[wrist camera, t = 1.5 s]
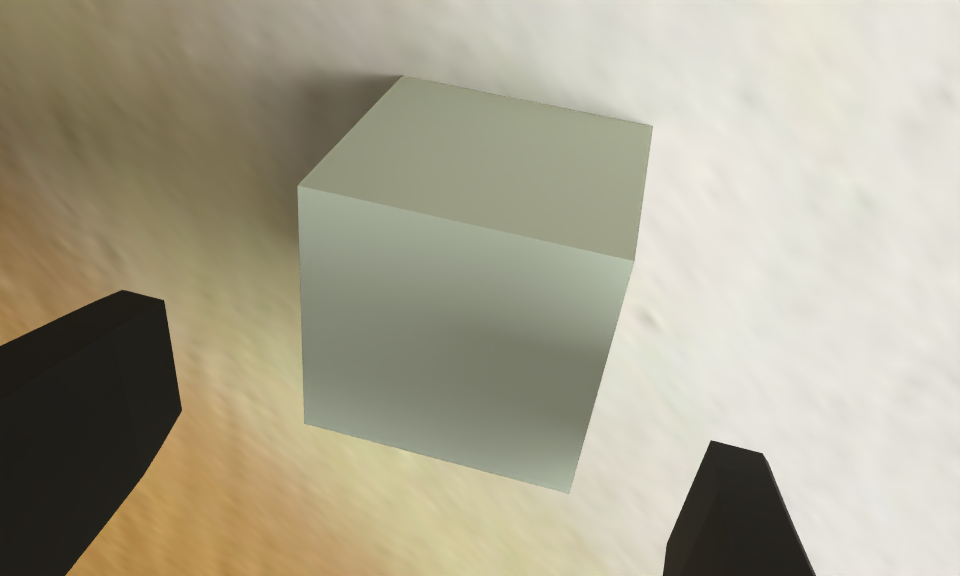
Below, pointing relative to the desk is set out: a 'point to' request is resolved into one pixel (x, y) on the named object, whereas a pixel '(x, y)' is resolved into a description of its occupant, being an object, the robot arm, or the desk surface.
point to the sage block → (468, 276)
